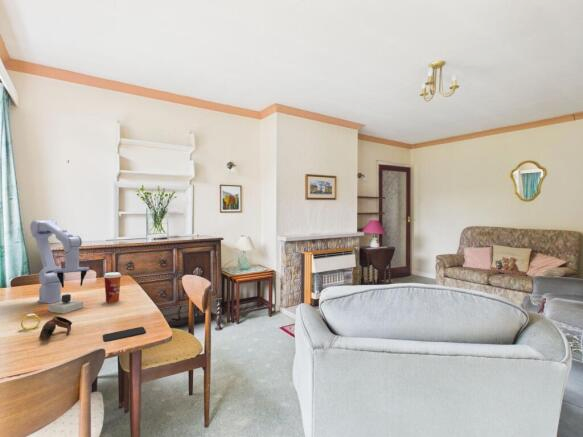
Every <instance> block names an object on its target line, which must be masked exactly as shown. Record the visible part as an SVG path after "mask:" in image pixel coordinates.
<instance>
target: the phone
mask: <svg viewBox="0 0 583 437" xmlns="http://www.w3.org/2000/svg"><path fill="white" fill-rule="evenodd" d="M144 334H147V331H146V329H145V327H144V326H138V327H133V328H128V329H124V330H123V329H122V330H119V331H115V332H108V333H104V334H102V340H103V342H105V343H107V342H108V343H109V342H113V341H116V340H121V339H125V338H126V339H127V338H130V337H136V336H140V335H144Z"/></svg>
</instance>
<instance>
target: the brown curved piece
mask: <svg viewBox="0 0 583 437" xmlns="http://www.w3.org/2000/svg"><path fill="white" fill-rule="evenodd" d="M72 325H73V322H72V321H71V320H69V319H67V318H65V317H61V316H53V317H52V318H51V319H49V320H48V321H46V322H45V323H44V324H43V326H42V329H41V331H40V334H39V336H38V337H39V339H41V340H44V339H51V338H52V336H53V333H54V332H55V330H56V328H57V327H59V328H64V329H67V330H66V333H65V335H67V336H68V335H69V334H70V332H71V330H72Z"/></svg>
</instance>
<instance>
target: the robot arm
mask: <svg viewBox="0 0 583 437" xmlns="http://www.w3.org/2000/svg"><path fill="white" fill-rule="evenodd" d="M29 227H30V228H29V229H30V233H31V235H32V236H31V237H33V238H35V242H36V245H37V248H38V252H39V256H40V259H41V260H40V261H41V262H42V263H41V264H42V269H41V270H40V271H38V276H39V277H38V280H39V283H40V285H41V286H40V287H39V290H38V294H39V295H38V297H39V298H38V300H37V302H39V303H45V304H54V303H57V302H61V301H62V289H63V288H64V287H65V279H66V275H65V274H67V273H68V274H69V273H79V272H80V284H79V285H80V287H82V286H83V282H84V279H85V277H86V275H87V273H88V272H90V266H80V247H82V244H83V242H82V241H83V240H82V237H80V236H79V235H73V234H72V233H70V232H69V231H68V230H67V229H61V228H60V227H59V226H58V224H57V221H55V220H54V219H45V220H43V219H42V220H41V219H39V220H35V219H34V220H32V221H31V222H30V225H29ZM53 234H54V235H55V239H56V240H58V241H59V242H61V243H62V244H61V245H62V247H63V251H64V253H65V254H64V255H65V256H64V258H65V259H64V265H65V266H64V268H62V267H60V266H58V265H56V262H55V259H54V258H55V257H54V256H53V252H52V249H51V248H52V247H51V245H50V241H49V238H50V237H51V236H53Z"/></svg>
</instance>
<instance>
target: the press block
mask: <svg viewBox="0 0 583 437" xmlns="http://www.w3.org/2000/svg"><path fill="white" fill-rule="evenodd" d="M47 306H48V312H50V313H57V314H66V313H69V312H72V311H75V310H80V309H82V308H84V300H75V299H71V301H69V302H68V304H65V302H62V300H61V301H57V302H54V303H49V304H48V305H47Z"/></svg>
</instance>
